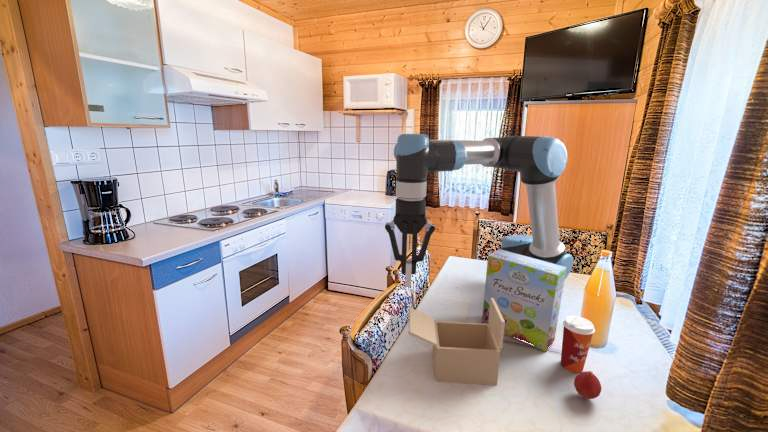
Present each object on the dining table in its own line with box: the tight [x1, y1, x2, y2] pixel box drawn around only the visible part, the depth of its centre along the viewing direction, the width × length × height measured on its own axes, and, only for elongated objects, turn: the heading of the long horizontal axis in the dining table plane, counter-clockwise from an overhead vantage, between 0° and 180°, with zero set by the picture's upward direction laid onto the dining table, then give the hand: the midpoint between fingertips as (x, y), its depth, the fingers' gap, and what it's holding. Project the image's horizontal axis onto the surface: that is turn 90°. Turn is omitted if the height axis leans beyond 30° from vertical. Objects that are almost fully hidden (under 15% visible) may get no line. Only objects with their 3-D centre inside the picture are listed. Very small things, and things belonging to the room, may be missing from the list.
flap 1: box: [408, 306, 437, 346], centre depth 95 cm, size 8×12×1 cm, turn 177°
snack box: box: [481, 248, 567, 353], centre depth 110 cm, size 22×9×26 cm, turn 47°
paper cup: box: [560, 315, 596, 374], centre depth 96 cm, size 8×8×14 cm
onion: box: [573, 370, 602, 400], centre depth 86 cm, size 6×6×8 cm
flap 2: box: [488, 298, 505, 350], centre depth 93 cm, size 8×12×1 cm
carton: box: [431, 320, 501, 386], centre depth 96 cm, size 16×13×10 cm
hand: (408, 284), depth 92 cm, fingers closed
